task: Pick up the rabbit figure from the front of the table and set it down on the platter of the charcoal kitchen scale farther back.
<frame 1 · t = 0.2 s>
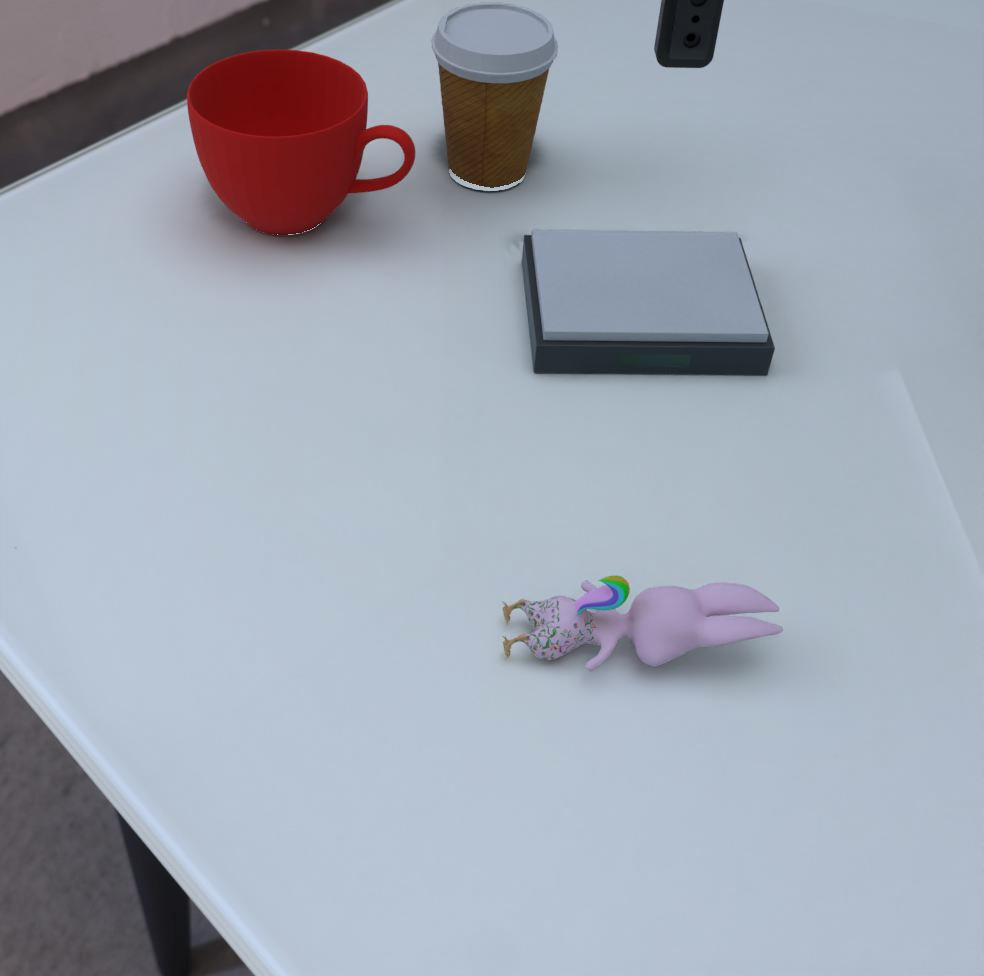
hand: (666, 14, 54), 32 cm above the table, tool pointing down, fingers open, 8 cm apart
scale: (639, 316, 93), on the table
disposable coffee cup: (486, 173, 106), on the table
rabbit figure: (634, 648, 73), on the table
ceramic cup: (309, 219, 101), on the table
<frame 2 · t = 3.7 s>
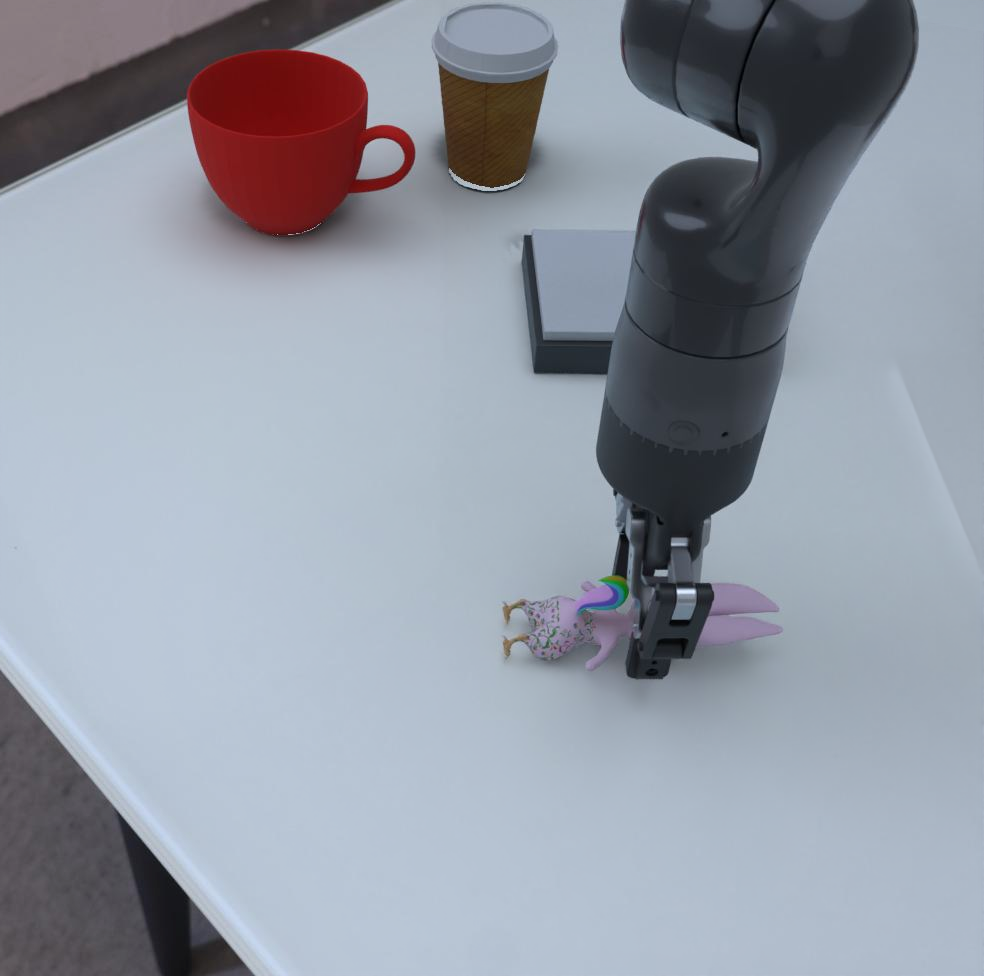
hand: (638, 626, 71), 2 cm above the table, tool pointing down, fingers closed on rabbit figure, 5 cm apart
rabbit figure: (634, 648, 73), on the table, touching gripper
everything else where it was.
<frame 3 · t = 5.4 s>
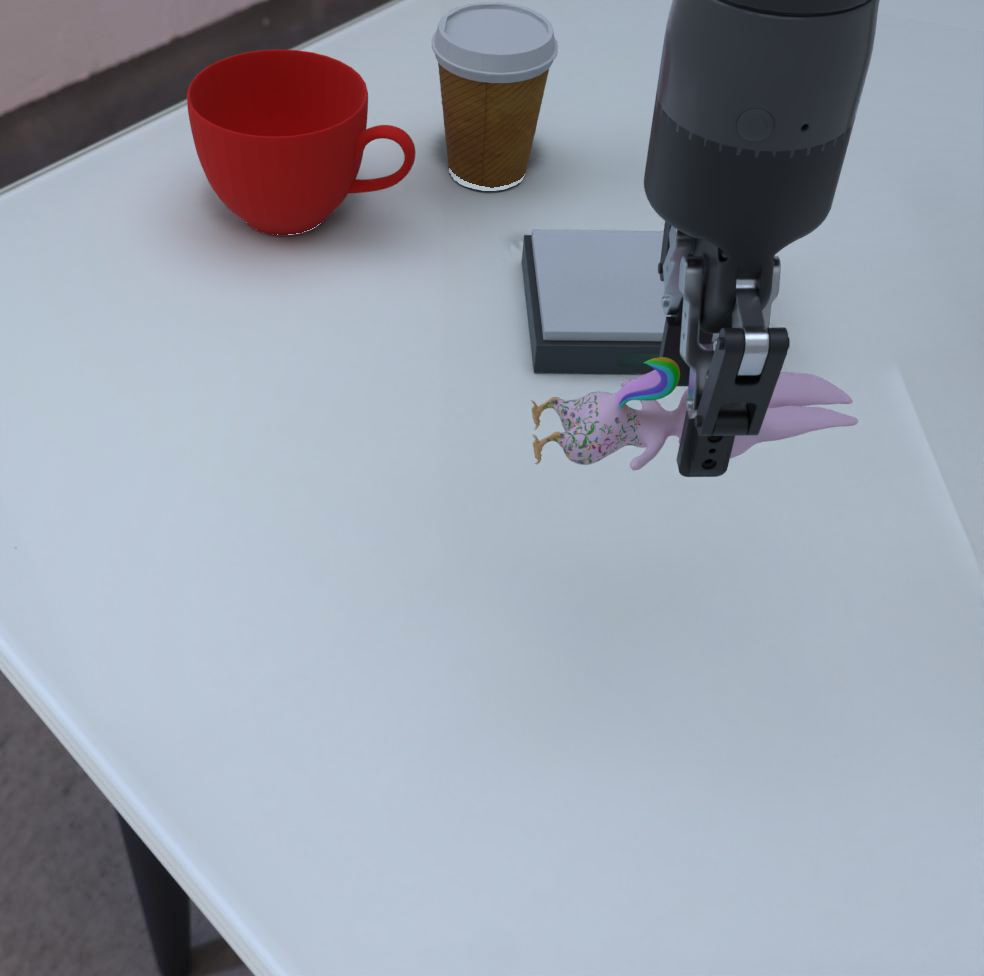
hand: (689, 423, 62), 16 cm above the table, tool pointing down, fingers closed on rabbit figure, 5 cm apart
rabbit figure: (683, 453, 63), point 14 cm above the table, touching gripper
everything else where it was.
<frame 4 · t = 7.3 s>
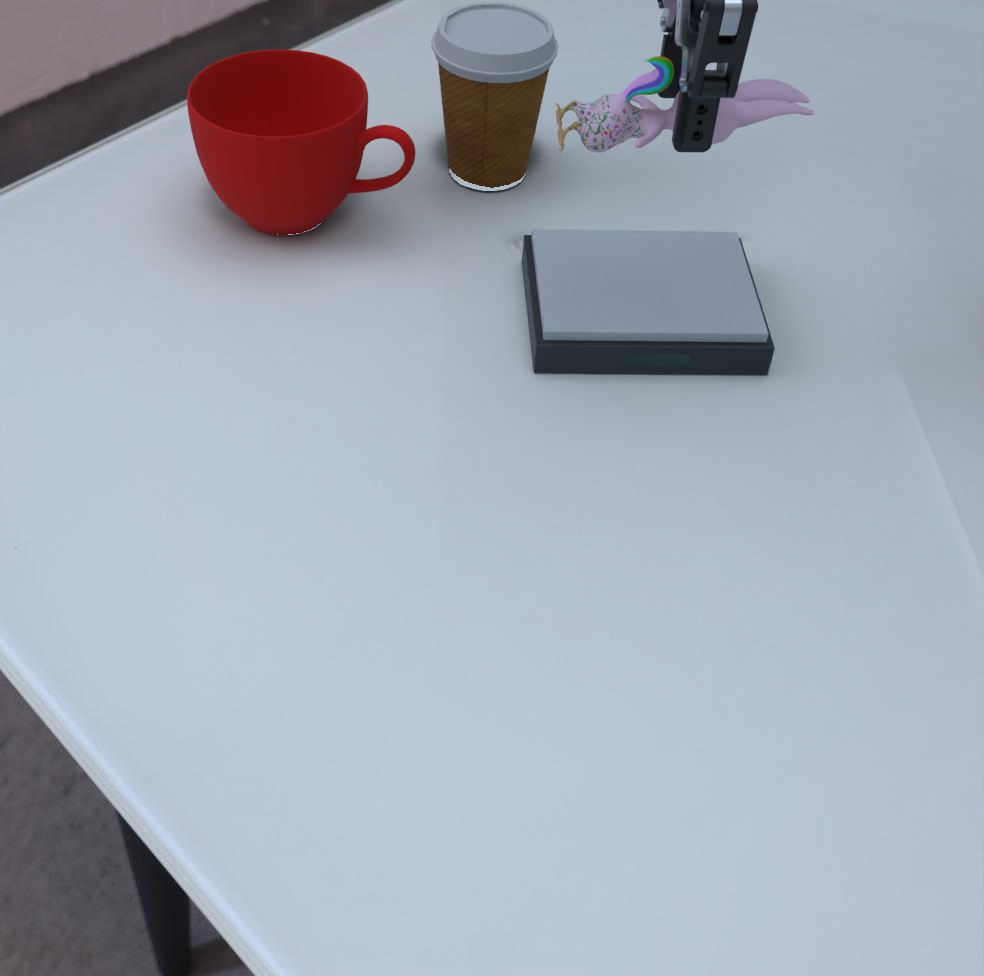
hand: (681, 120, 78), 17 cm above the table, tool pointing down, fingers closed on rabbit figure, 5 cm apart
rabbit figure: (676, 148, 79), point 16 cm above the table, touching gripper
everything else where it was.
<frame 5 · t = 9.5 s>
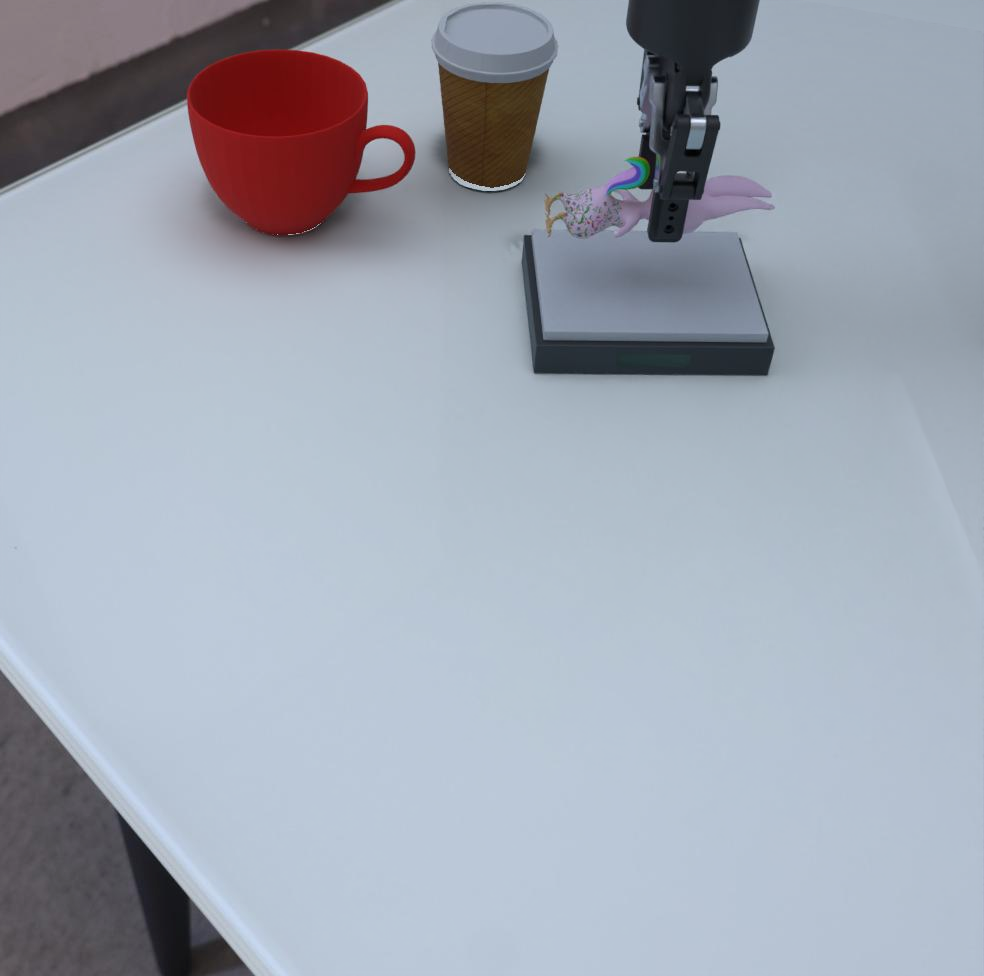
hand: (657, 211, 87), 9 cm above the table, tool pointing down, fingers closed on rabbit figure, 5 cm apart
rabbit figure: (652, 235, 88), point 7 cm above the table, touching gripper
everything else where it was.
when the fingers open (5 cm above the table, at t = 11.0 s): rabbit figure stays where it is, resting on scale.
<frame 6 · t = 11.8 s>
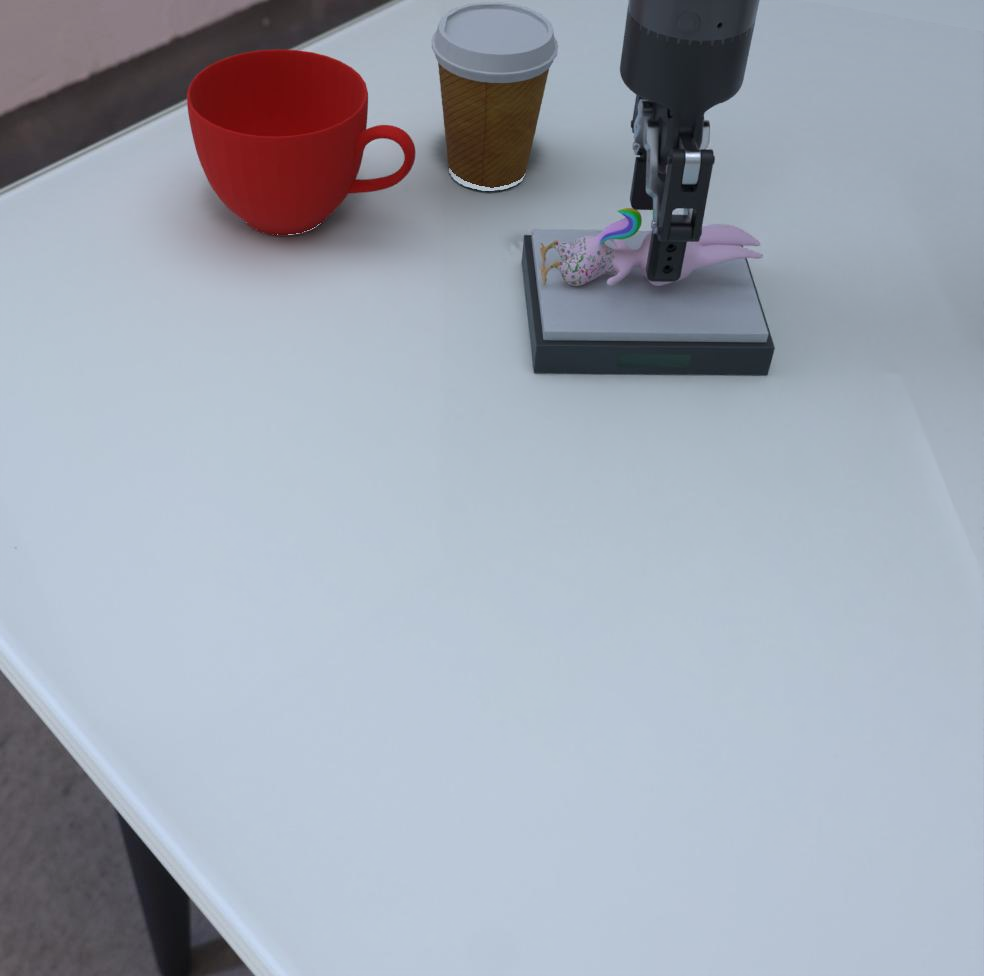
hand: (653, 241, 89), 6 cm above the table, tool pointing down, fingers open, 8 cm apart
rabbit figure: (645, 281, 91), point 3 cm above the table, touching scale
everything else where it was.
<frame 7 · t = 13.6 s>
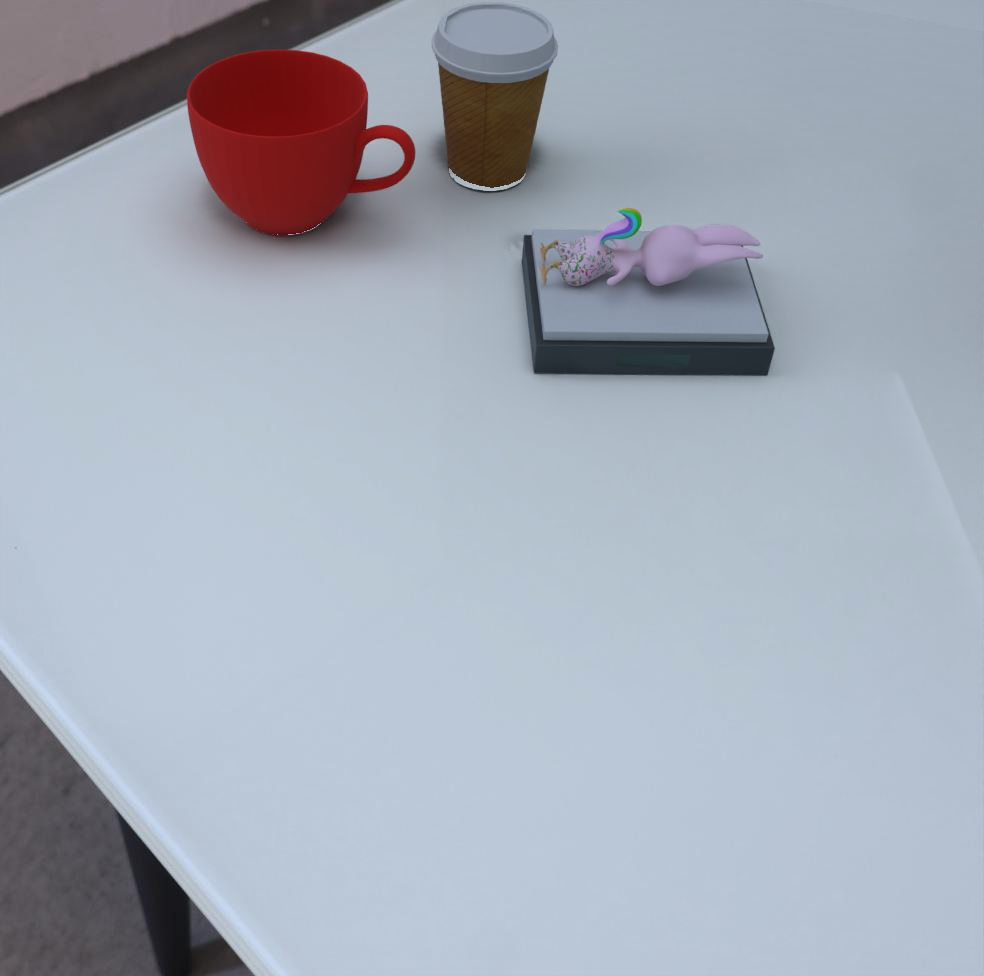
nothing on the table moved.
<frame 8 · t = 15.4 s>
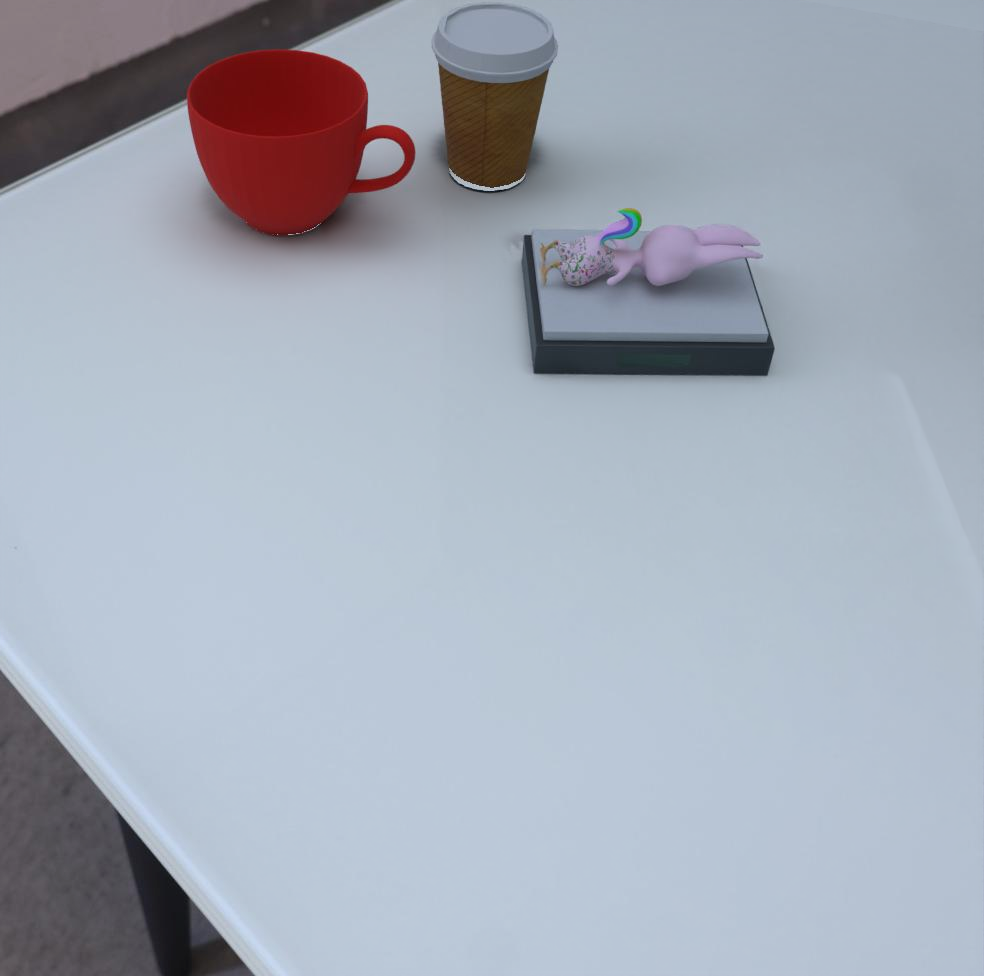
nothing on the table moved.
at the end: rabbit figure inside the target area on the scale (0.0 cm from its centre), point 3.0 cm above the scale's base; the gripper is holding nothing; rabbit figure touching scale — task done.
